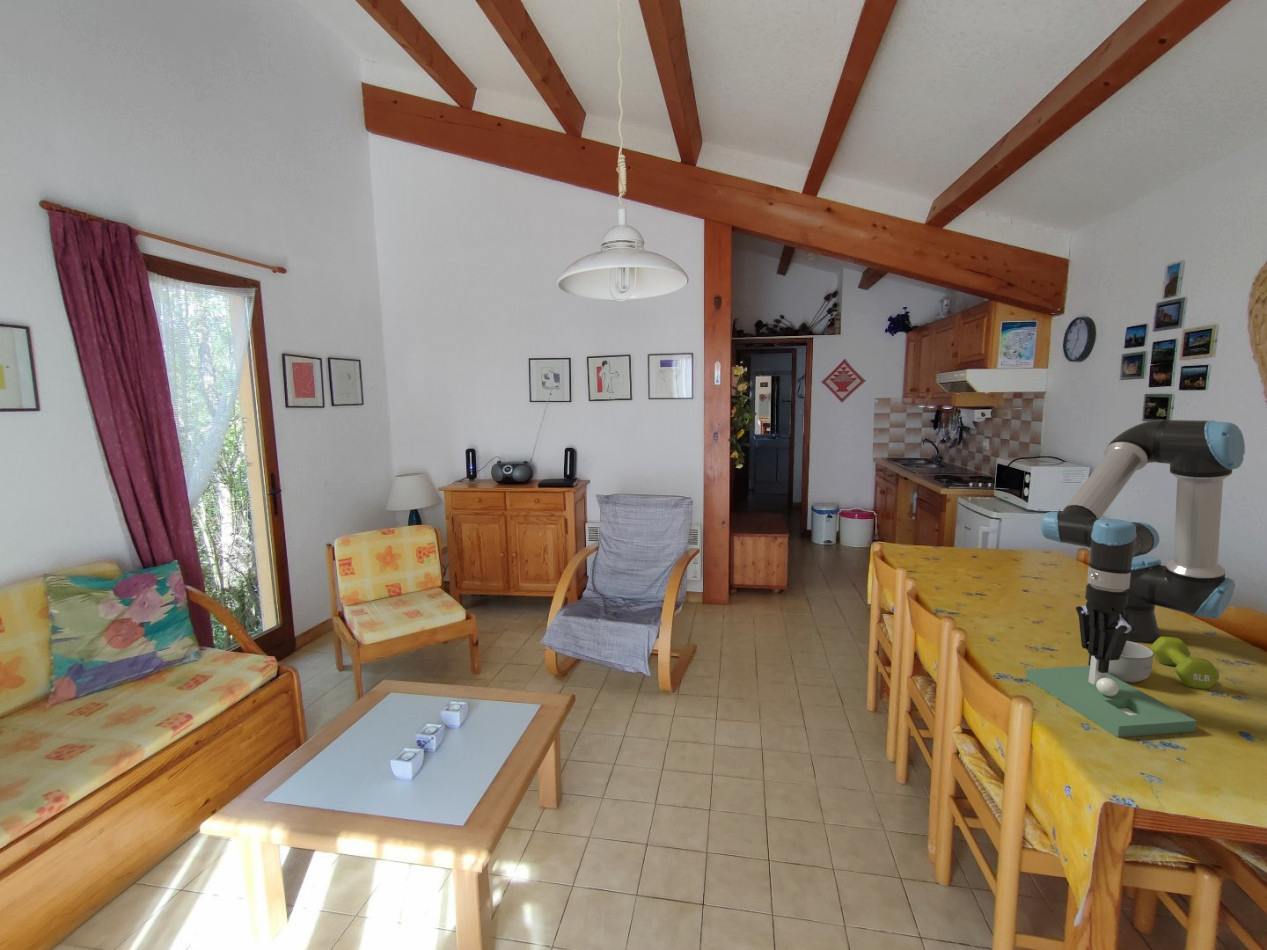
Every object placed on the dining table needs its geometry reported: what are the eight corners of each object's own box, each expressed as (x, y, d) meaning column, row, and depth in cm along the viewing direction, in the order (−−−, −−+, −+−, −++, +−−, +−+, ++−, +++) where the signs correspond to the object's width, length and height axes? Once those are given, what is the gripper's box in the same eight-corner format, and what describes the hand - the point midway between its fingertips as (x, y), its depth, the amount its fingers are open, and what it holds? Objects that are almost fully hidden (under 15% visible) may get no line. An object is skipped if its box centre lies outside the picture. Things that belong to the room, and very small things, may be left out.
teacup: (1154, 691, 138) (1158, 660, 137) (1097, 680, 144) (1100, 650, 143) (1142, 667, 150) (1145, 639, 149) (1089, 658, 156) (1092, 630, 154)
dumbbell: (1146, 658, 155) (1149, 633, 154) (1184, 663, 153) (1187, 637, 152) (1178, 687, 140) (1181, 659, 139) (1220, 693, 137) (1224, 665, 136)
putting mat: (1091, 674, 147) (1092, 665, 146) (1195, 731, 122) (1196, 720, 122) (1026, 678, 145) (1026, 669, 145) (1117, 737, 120) (1118, 726, 120)
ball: (1126, 694, 129) (1113, 698, 132) (1118, 675, 131) (1106, 680, 135) (1108, 693, 129) (1096, 697, 132) (1100, 675, 131) (1089, 680, 135)
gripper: (1068, 578, 138) (1058, 670, 141) (1118, 597, 125) (1106, 698, 128) (1097, 577, 138) (1087, 668, 142) (1150, 596, 126) (1137, 696, 129)
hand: (1096, 682), depth 135 cm, fingers closed
